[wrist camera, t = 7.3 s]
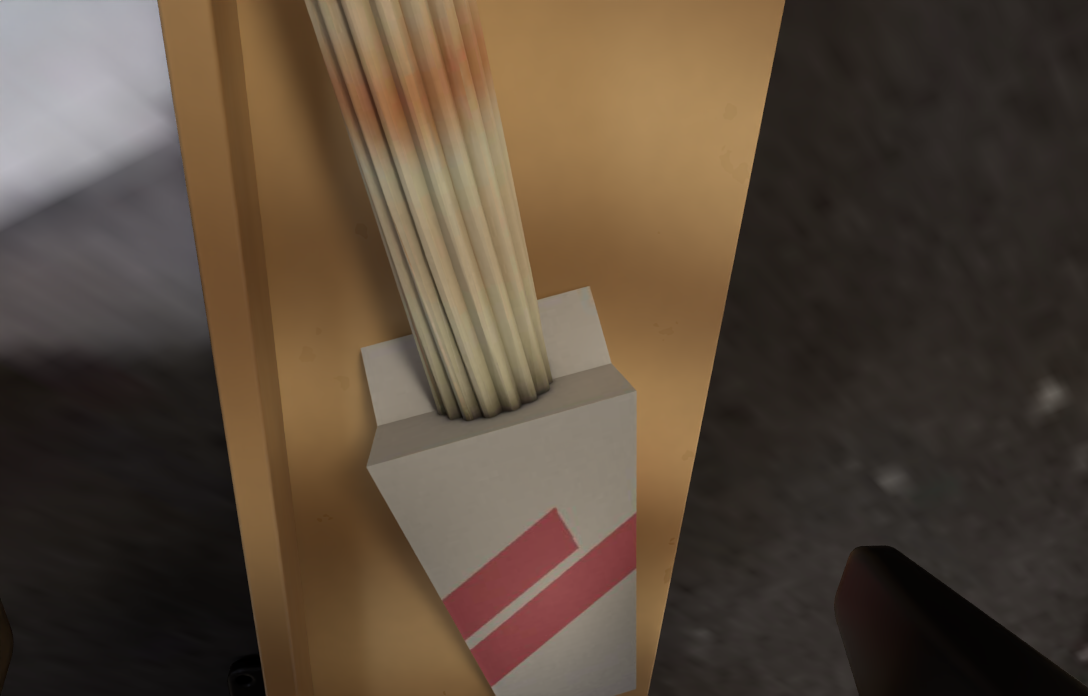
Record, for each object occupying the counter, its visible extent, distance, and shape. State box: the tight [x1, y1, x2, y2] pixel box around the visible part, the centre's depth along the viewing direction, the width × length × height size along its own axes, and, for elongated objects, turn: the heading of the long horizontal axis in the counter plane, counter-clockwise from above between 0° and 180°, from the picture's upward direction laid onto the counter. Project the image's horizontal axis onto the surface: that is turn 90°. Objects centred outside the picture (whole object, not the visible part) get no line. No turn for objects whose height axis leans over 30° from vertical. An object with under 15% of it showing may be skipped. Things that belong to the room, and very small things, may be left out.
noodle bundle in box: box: [304, 0, 637, 696], centre depth 13 cm, size 4×3×20 cm
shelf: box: [157, 0, 785, 696], centre depth 16 cm, size 24×8×8 cm, turn 176°
